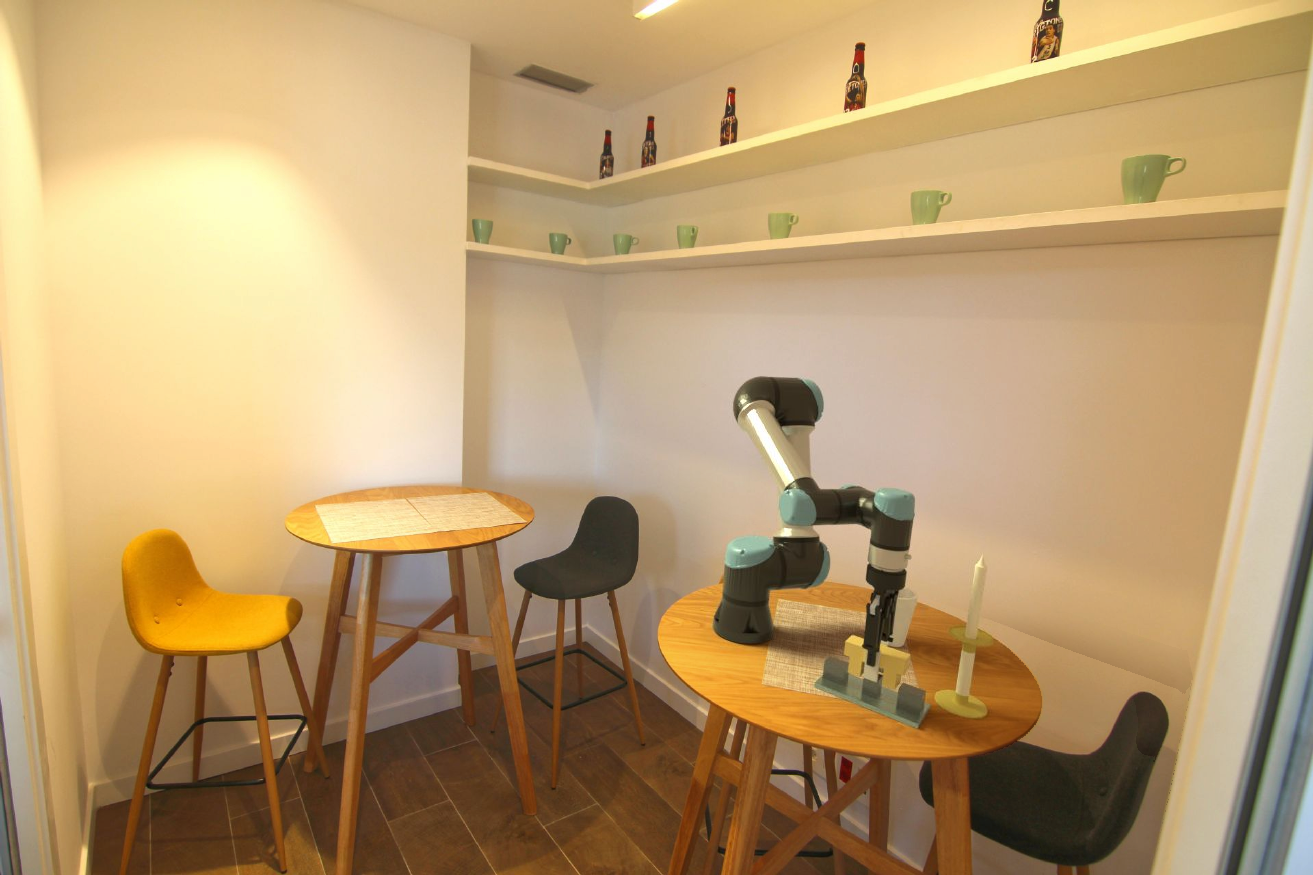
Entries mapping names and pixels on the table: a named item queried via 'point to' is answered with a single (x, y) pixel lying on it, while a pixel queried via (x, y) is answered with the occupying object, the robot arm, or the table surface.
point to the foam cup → (903, 616)
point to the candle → (968, 654)
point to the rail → (874, 693)
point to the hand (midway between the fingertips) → (874, 674)
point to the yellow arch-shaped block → (890, 661)
